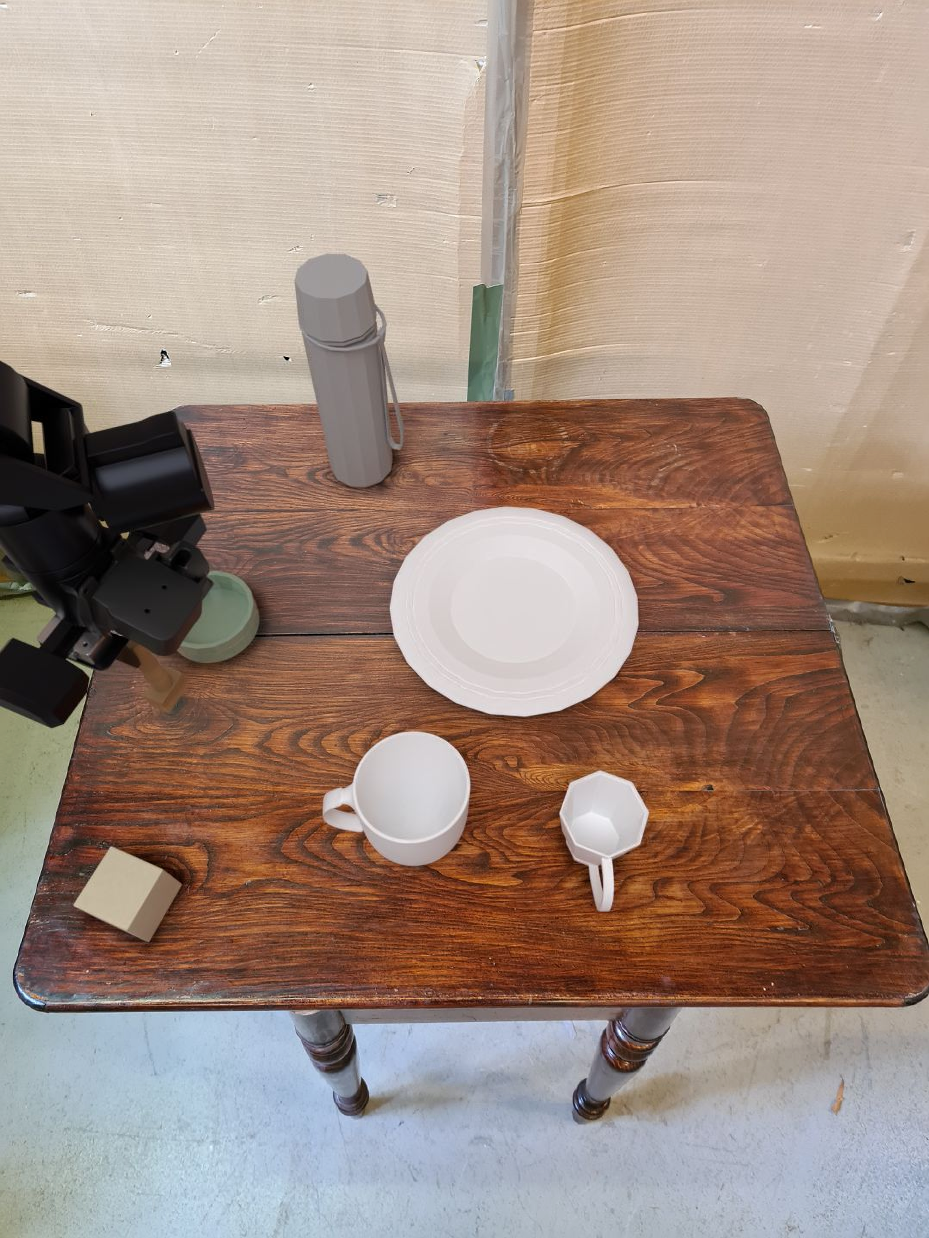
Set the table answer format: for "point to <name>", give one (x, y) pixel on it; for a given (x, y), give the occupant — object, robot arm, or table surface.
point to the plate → (514, 611)
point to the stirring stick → (159, 679)
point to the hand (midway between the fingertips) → (141, 655)
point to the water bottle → (347, 367)
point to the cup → (602, 826)
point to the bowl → (222, 621)
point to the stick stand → (128, 893)
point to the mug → (406, 798)
